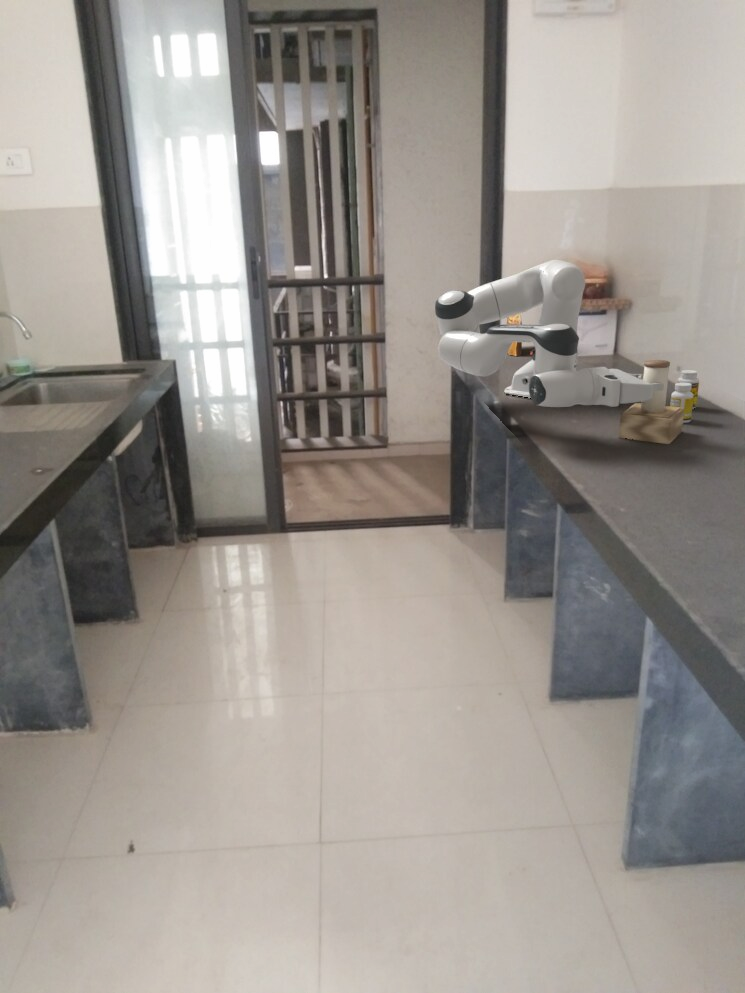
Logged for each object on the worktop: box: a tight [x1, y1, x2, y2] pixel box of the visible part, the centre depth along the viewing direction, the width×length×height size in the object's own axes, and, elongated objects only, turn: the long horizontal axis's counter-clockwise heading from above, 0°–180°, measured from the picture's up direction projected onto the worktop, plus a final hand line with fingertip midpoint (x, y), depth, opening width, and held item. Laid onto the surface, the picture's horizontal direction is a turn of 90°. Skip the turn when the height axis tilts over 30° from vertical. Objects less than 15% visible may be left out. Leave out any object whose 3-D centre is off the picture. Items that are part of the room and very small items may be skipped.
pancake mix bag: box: [506, 313, 523, 357], centre depth 296 cm, size 7×19×28 cm, turn 3°
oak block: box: [618, 402, 684, 445], centre depth 191 cm, size 12×12×6 cm
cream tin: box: [640, 359, 671, 413], centre depth 188 cm, size 6×6×12 cm
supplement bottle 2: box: [669, 382, 693, 424], centre depth 201 cm, size 5×5×10 cm
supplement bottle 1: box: [676, 369, 700, 410], centre depth 213 cm, size 6×6×10 cm
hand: (652, 381), depth 187 cm, fingers open, 8 cm apart
